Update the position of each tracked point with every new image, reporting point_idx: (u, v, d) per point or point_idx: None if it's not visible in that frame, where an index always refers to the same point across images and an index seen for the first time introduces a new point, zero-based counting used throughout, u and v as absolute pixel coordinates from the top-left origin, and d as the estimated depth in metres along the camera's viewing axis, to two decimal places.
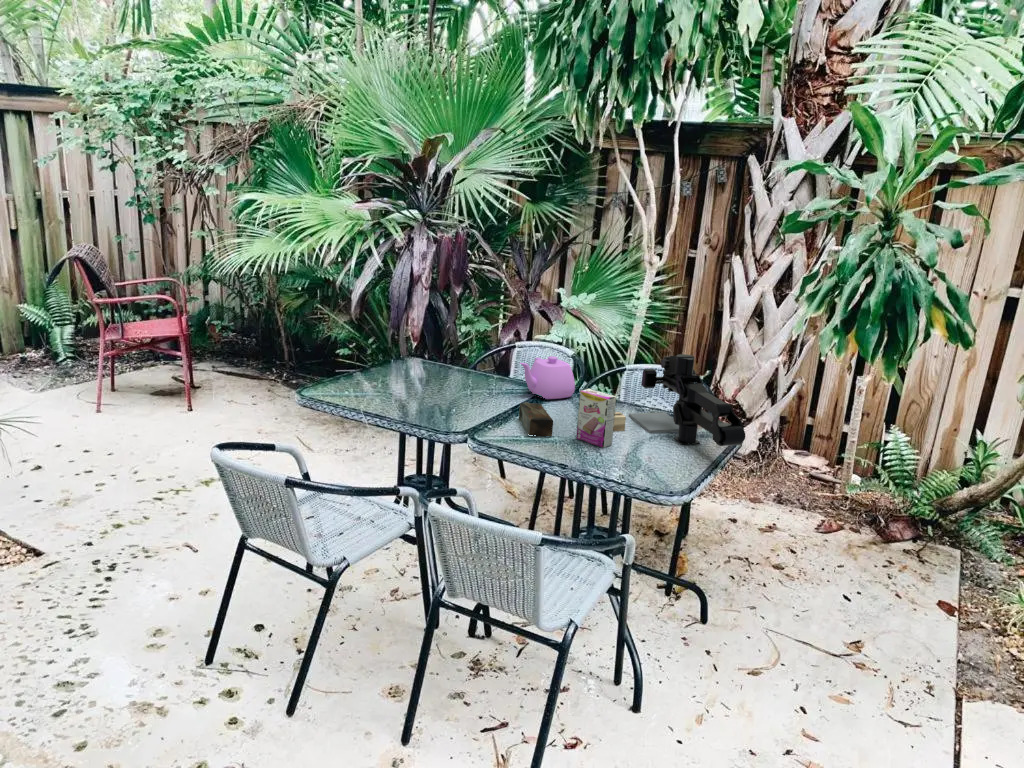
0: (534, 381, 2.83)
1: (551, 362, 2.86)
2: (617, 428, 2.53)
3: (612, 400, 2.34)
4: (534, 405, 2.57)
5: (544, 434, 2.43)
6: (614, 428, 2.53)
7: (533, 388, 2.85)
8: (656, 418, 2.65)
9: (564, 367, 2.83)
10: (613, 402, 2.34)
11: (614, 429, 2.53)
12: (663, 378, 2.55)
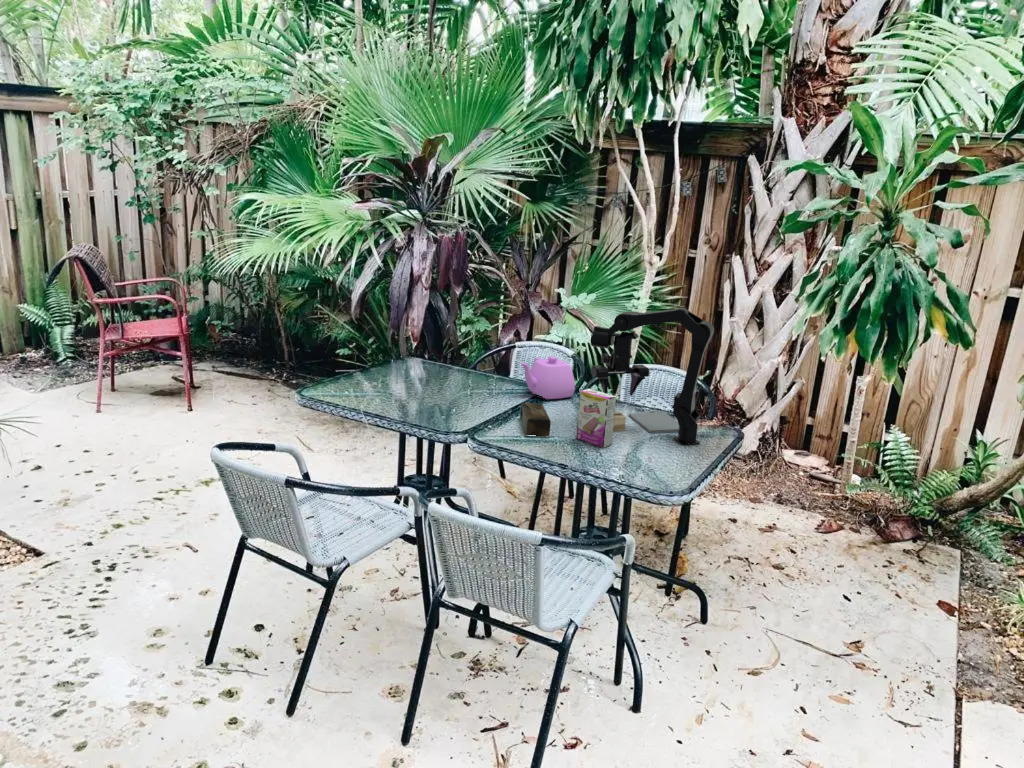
0: (534, 381, 2.83)
1: (551, 362, 2.86)
2: (617, 428, 2.53)
3: (612, 400, 2.34)
4: (535, 405, 2.57)
5: (541, 434, 2.43)
6: (614, 428, 2.53)
7: (533, 388, 2.85)
8: (656, 418, 2.65)
9: (564, 367, 2.83)
10: (613, 402, 2.34)
11: (614, 429, 2.53)
12: (612, 366, 2.49)
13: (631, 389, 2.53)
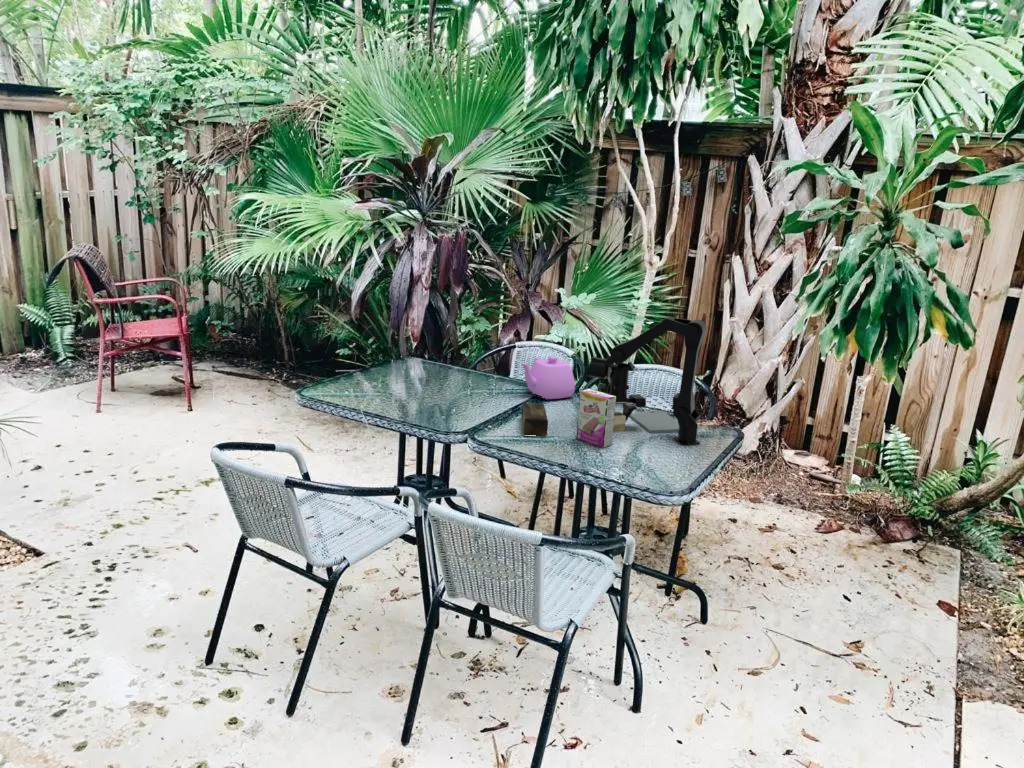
0: (534, 381, 2.83)
1: (551, 362, 2.86)
2: (617, 428, 2.53)
3: (612, 400, 2.34)
4: (536, 405, 2.57)
5: (538, 434, 2.43)
6: (614, 428, 2.53)
7: (533, 388, 2.85)
8: (656, 418, 2.65)
9: (564, 367, 2.83)
10: (613, 402, 2.34)
11: (614, 429, 2.53)
12: None
13: None
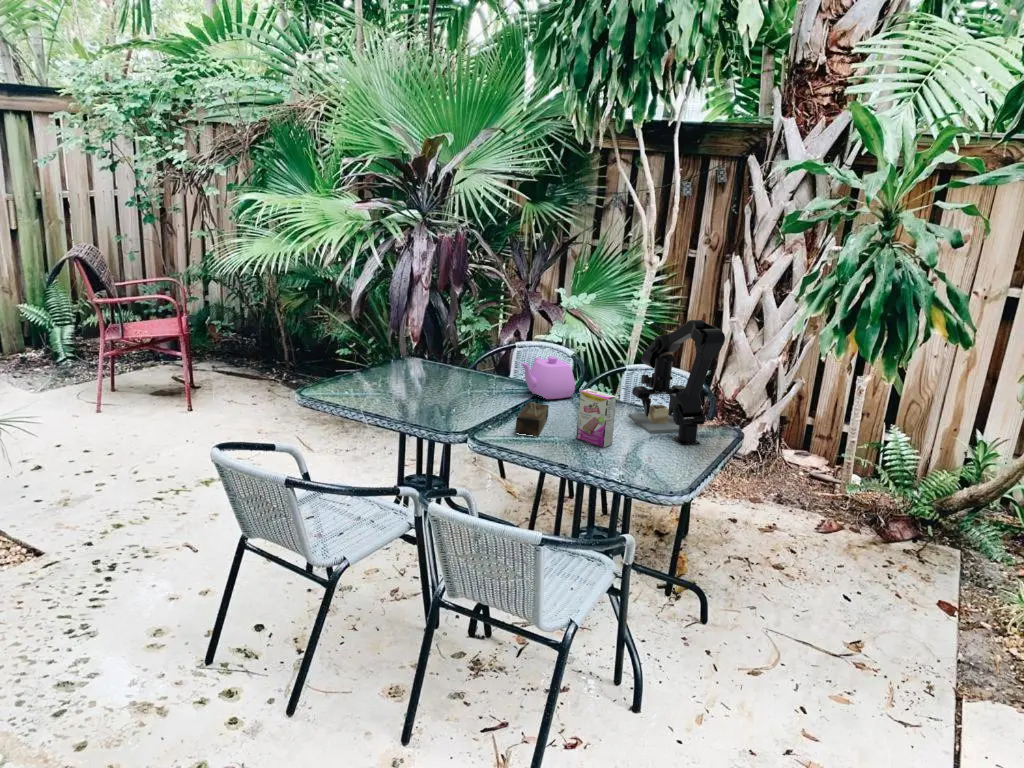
0: (534, 381, 2.83)
1: (551, 362, 2.86)
2: (660, 420, 2.60)
3: (612, 400, 2.34)
4: (539, 405, 2.57)
5: (529, 434, 2.43)
6: (657, 420, 2.60)
7: (533, 388, 2.85)
8: None
9: (564, 367, 2.83)
10: (613, 402, 2.34)
11: (657, 421, 2.60)
12: (653, 387, 2.59)
13: (670, 409, 2.62)
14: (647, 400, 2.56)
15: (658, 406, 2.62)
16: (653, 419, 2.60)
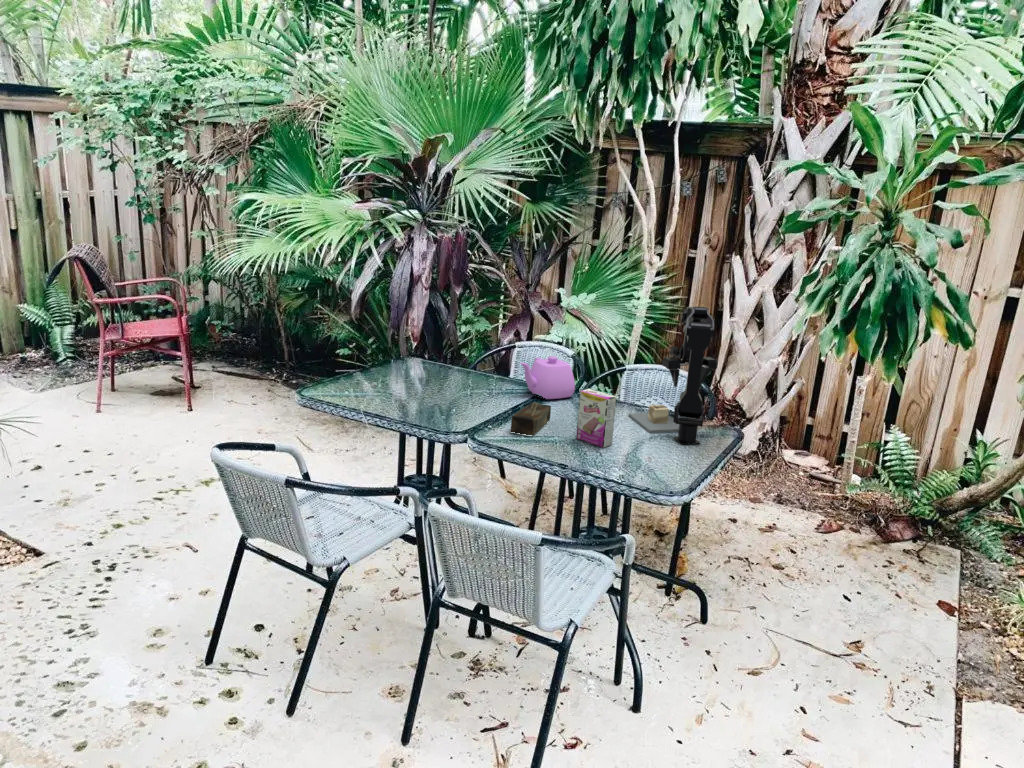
0: (534, 381, 2.83)
1: (551, 362, 2.86)
2: (660, 420, 2.60)
3: (612, 400, 2.34)
4: (541, 406, 2.57)
5: (524, 433, 2.43)
6: (657, 420, 2.60)
7: (533, 388, 2.85)
8: None
9: (564, 367, 2.83)
10: (613, 402, 2.34)
11: (657, 421, 2.60)
12: (682, 358, 2.63)
13: (699, 380, 2.66)
14: (676, 371, 2.60)
15: (658, 406, 2.62)
16: (653, 419, 2.60)
